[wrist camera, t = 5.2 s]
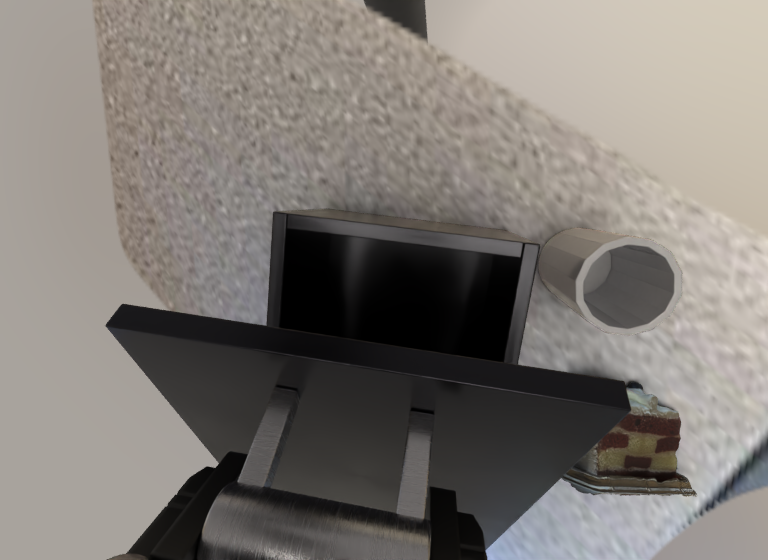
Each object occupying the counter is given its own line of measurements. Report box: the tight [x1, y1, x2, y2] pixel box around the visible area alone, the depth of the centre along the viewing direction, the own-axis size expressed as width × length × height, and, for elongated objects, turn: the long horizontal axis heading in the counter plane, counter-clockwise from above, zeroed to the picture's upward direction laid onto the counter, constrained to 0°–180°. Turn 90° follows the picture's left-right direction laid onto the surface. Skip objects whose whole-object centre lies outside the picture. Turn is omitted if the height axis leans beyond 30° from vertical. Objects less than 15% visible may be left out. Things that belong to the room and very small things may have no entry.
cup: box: [538, 227, 682, 336], centre depth 26 cm, size 5×5×8 cm
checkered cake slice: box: [562, 382, 697, 497], centre depth 30 cm, size 10×7×12 cm
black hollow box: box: [267, 209, 540, 365], centre depth 27 cm, size 17×14×10 cm
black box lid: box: [106, 304, 631, 560], centre depth 15 cm, size 17×14×5 cm
